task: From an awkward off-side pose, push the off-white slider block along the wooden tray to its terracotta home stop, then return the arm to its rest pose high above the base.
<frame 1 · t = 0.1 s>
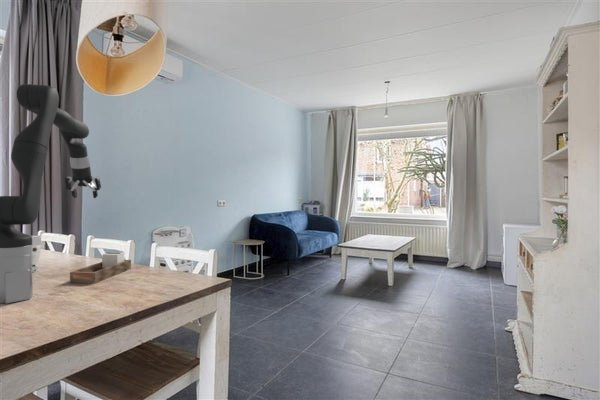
hand: (85, 197, 163), 31 cm above the table, tool tilted 20°, fingers open, 8 cm apart
slider block: (113, 259, 146), point 5 cm above the table, slide at -7.0 cm
wooden tray: (103, 275, 139), on the table
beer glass: (30, 271, 143), on the table
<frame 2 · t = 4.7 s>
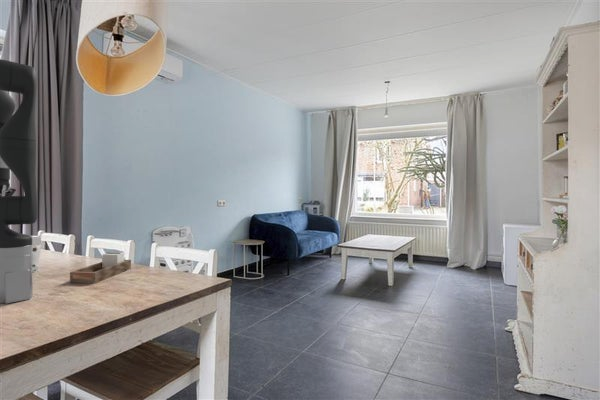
nothing on the table moved.
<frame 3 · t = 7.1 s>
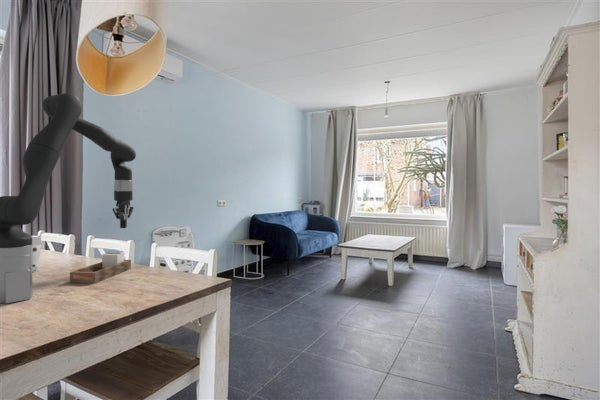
hand: (123, 227, 153), 18 cm above the table, tool pointing down, fingers closed
nothing on the table moved.
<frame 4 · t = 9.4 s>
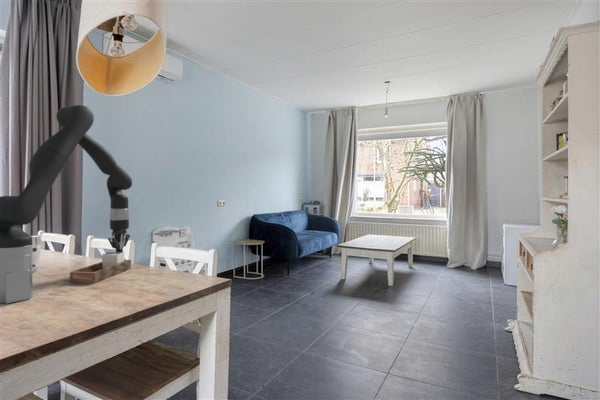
hand: (119, 256, 150), 5 cm above the table, tool pointing down, fingers closed
slider block: (113, 259, 146), point 5 cm above the table, slide at -7.0 cm, touching gripper
everything else where it was.
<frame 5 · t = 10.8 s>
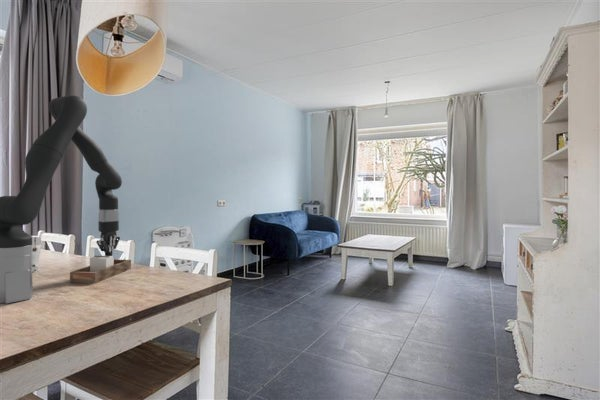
hand: (108, 260, 143), 5 cm above the table, tool pointing down, fingers closed
slider block: (102, 263, 138), point 5 cm above the table, slide at 0.7 cm, touching gripper
everything else where it was.
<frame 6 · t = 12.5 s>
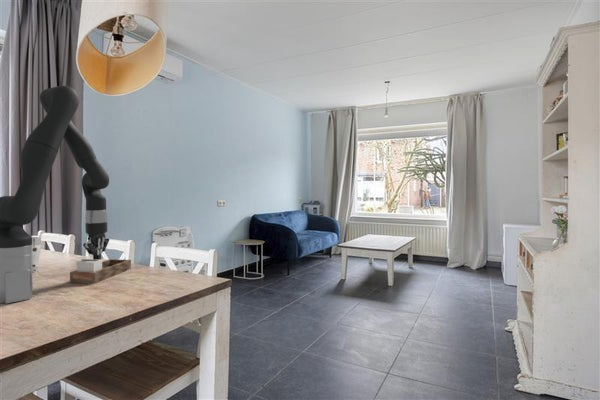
hand: (97, 263, 135), 6 cm above the table, tool pointing down, fingers closed
slider block: (89, 267, 131), point 5 cm above the table, slide at 8.1 cm, touching gripper
everything else where it was.
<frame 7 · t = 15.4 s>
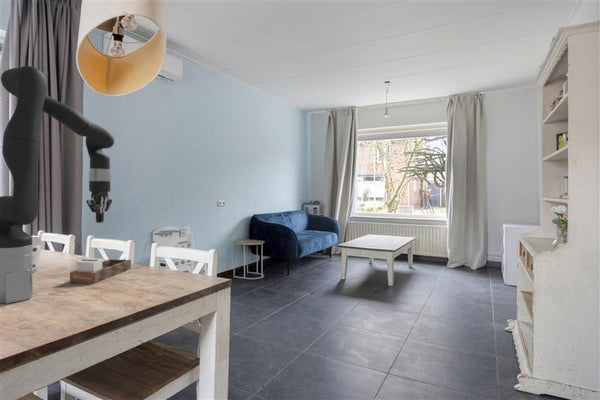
hand: (99, 222, 137), 22 cm above the table, tool pointing down, fingers closed
slider block: (89, 267, 131), point 5 cm above the table, slide at 8.0 cm
everything else where it was.
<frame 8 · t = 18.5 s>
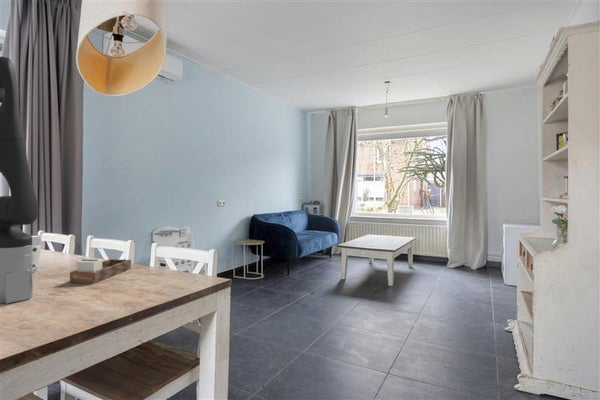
nothing on the table moved.
at the end: slider block slide at 8.0 cm; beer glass moved 0.2 cm from its start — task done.
